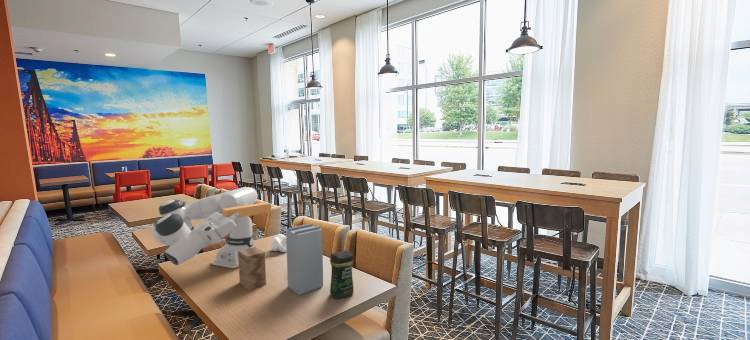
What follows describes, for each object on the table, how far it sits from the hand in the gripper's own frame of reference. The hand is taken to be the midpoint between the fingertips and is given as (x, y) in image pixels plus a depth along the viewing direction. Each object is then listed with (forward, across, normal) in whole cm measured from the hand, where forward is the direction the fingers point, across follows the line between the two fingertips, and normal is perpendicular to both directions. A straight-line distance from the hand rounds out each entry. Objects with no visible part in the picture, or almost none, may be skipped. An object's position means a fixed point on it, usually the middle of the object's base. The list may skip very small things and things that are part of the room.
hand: (235, 211), depth 149 cm
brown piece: (-12, 0, -33) cm, 35 cm away
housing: (+2, +19, -41) cm, 45 cm away
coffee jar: (+8, +36, -45) cm, 58 cm away
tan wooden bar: (+3, 0, -5) cm, 6 cm away
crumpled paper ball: (+14, -32, -48) cm, 60 cm away
